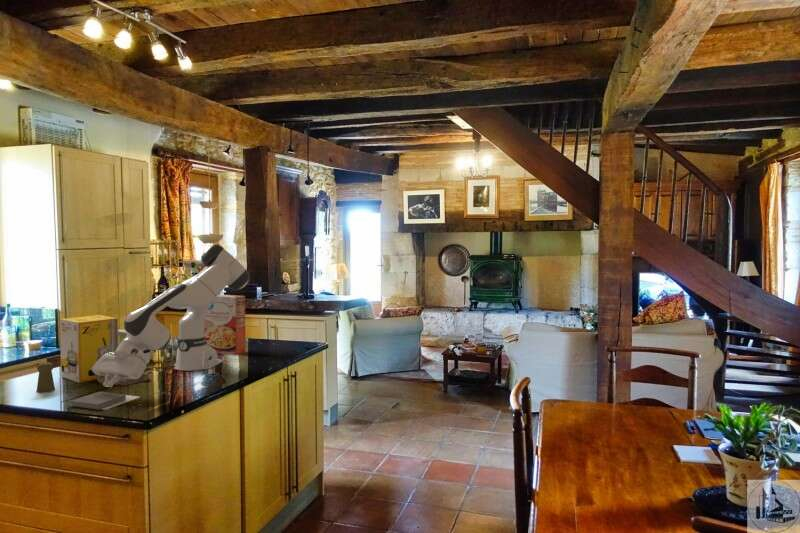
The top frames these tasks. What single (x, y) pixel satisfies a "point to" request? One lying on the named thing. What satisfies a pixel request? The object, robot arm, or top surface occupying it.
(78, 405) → the slate tile
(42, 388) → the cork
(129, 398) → the beige mat
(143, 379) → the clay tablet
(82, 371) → the packaging box
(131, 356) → the robot arm
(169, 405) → the top surface
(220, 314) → the pasta box
